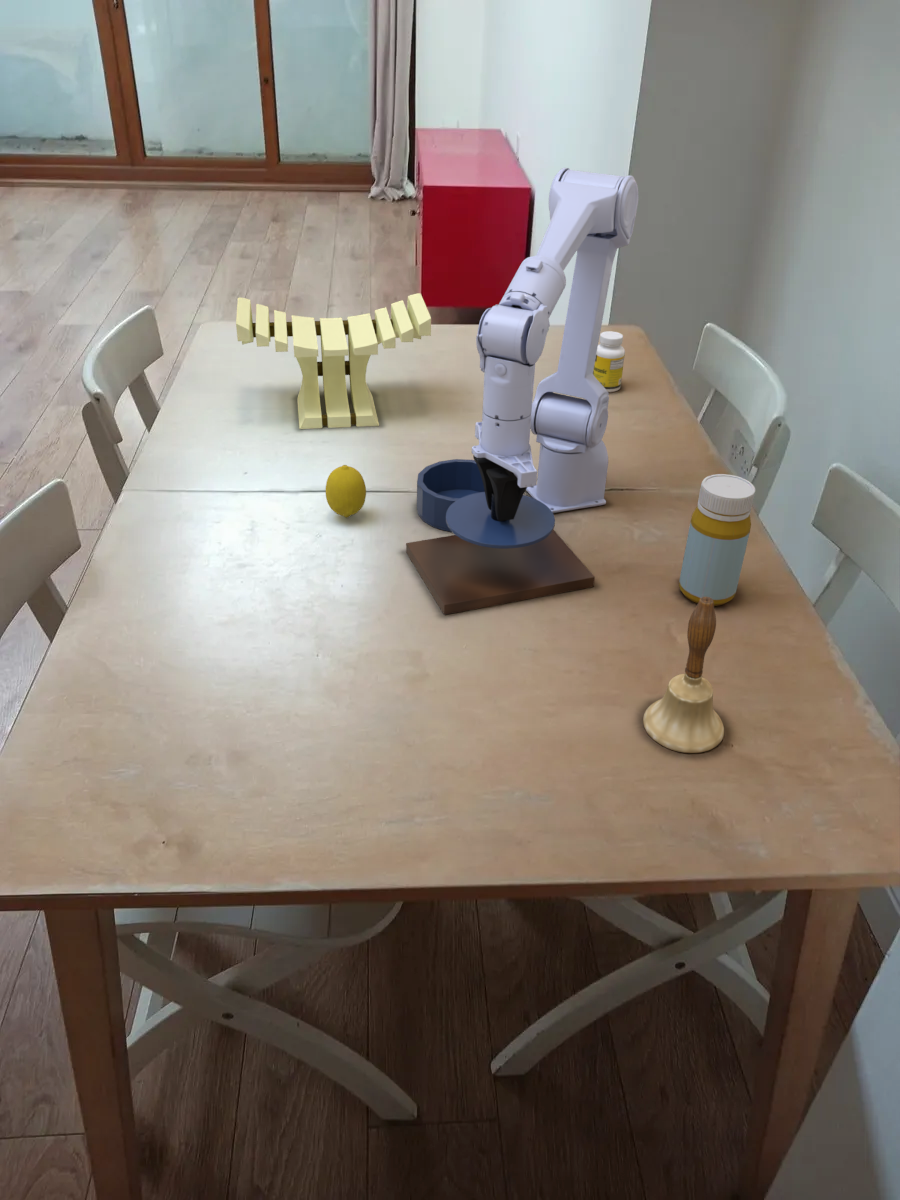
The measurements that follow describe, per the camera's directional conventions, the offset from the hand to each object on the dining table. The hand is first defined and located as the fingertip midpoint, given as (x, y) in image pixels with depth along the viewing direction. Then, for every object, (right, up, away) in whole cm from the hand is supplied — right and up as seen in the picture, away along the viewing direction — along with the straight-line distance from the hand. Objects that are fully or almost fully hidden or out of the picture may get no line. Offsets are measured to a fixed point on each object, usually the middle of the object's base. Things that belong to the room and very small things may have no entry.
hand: (500, 513), depth 121 cm
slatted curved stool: (-26, +22, +46) cm, 57 cm away
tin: (-5, +2, +17) cm, 18 cm away
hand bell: (+18, -24, -19) cm, 36 cm away
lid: (0, -1, 0) cm, 1 cm away
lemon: (-21, +1, +15) cm, 26 cm away
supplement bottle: (+22, +28, +56) cm, 67 cm away
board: (0, -7, +5) cm, 8 cm away
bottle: (+26, -10, +1) cm, 28 cm away
